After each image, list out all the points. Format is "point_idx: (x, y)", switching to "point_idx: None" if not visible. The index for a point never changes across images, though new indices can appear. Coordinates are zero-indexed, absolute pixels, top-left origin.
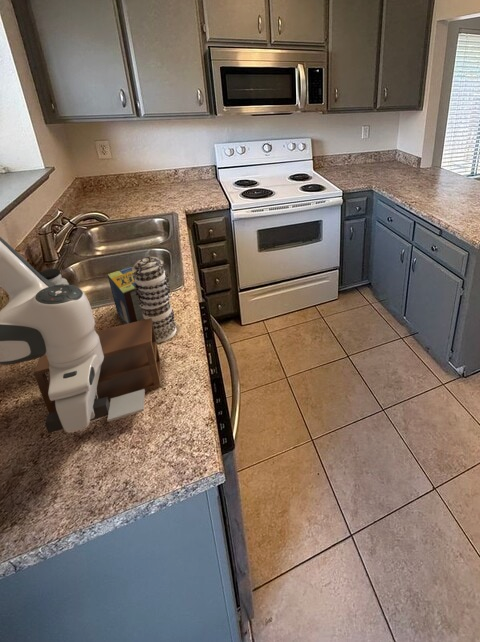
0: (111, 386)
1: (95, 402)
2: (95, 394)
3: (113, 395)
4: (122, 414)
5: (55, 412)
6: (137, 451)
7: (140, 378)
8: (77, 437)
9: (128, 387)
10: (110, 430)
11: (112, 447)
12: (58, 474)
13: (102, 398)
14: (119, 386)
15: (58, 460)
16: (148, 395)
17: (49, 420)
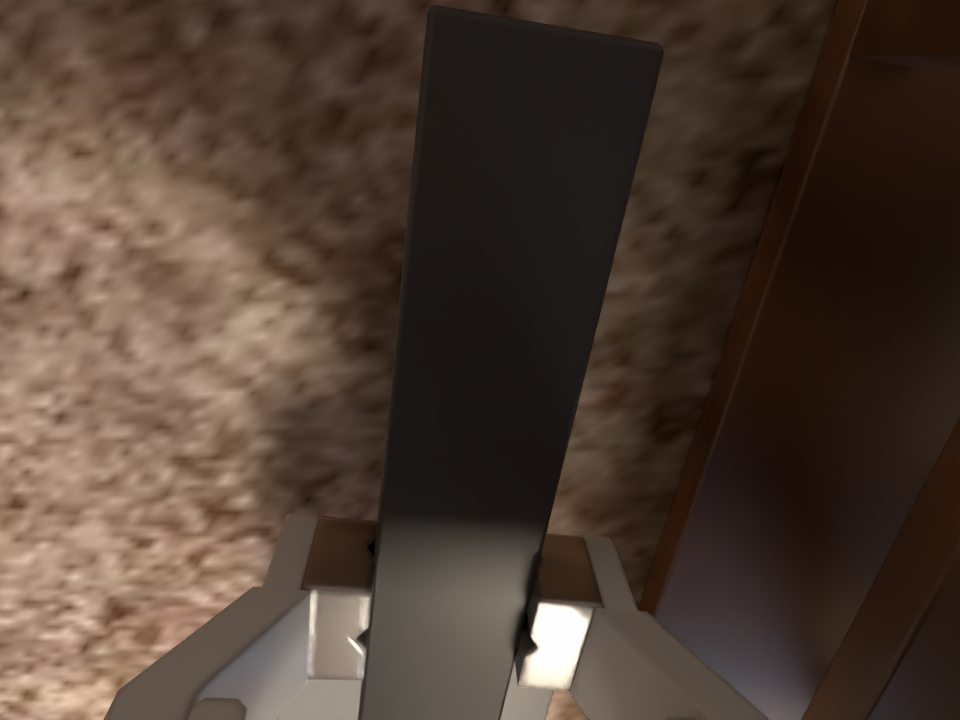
0: (841, 519)
1: (468, 656)
2: (577, 700)
3: (712, 534)
4: (289, 713)
5: (604, 187)
6: (64, 630)
7: (753, 693)
8: None
9: (719, 625)
10: (357, 485)
11: (171, 498)
12: (41, 107)
13: (494, 710)
14: (786, 573)
15: (218, 96)
16: (558, 694)
17: (446, 98)
